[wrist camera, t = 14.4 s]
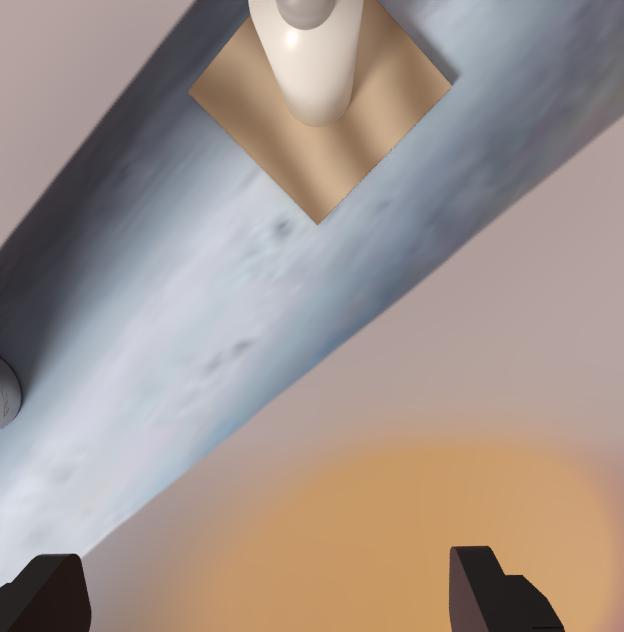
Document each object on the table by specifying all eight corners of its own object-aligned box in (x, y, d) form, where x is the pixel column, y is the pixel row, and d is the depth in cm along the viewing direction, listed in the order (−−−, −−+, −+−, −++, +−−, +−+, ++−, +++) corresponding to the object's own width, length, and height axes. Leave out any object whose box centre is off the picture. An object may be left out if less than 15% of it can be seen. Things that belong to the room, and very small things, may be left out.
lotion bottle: (286, 130, 33) (244, 48, 18) (282, 56, 32) (232, -101, 17) (352, 125, 33) (369, 36, 17) (350, 50, 32) (365, -116, 16)
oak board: (317, 225, 36) (317, 225, 35) (191, 95, 34) (187, 91, 33) (449, 90, 33) (452, 86, 32) (318, -59, 31) (317, -68, 30)
